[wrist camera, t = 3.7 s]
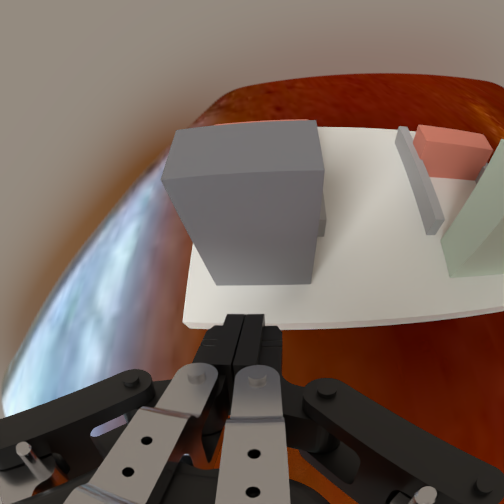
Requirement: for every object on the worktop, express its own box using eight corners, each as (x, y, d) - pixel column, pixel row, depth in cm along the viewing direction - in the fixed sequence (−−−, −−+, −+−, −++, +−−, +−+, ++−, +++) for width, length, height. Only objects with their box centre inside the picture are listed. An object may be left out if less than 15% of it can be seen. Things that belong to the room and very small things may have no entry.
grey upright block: (308, 242, 20) (315, 120, 12) (310, 284, 19) (324, 170, 10) (220, 245, 21) (176, 130, 12) (216, 285, 20) (160, 179, 11)
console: (459, 147, 26) (475, 108, 21) (519, 308, 17) (559, 279, 12) (215, 143, 29) (204, 98, 24) (189, 328, 20) (158, 299, 15)
